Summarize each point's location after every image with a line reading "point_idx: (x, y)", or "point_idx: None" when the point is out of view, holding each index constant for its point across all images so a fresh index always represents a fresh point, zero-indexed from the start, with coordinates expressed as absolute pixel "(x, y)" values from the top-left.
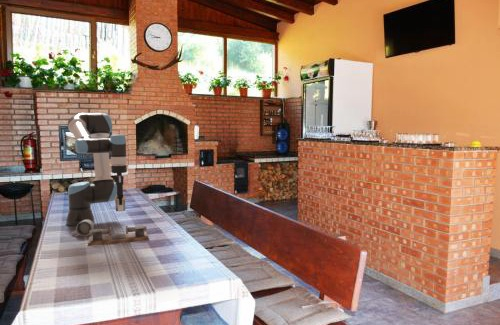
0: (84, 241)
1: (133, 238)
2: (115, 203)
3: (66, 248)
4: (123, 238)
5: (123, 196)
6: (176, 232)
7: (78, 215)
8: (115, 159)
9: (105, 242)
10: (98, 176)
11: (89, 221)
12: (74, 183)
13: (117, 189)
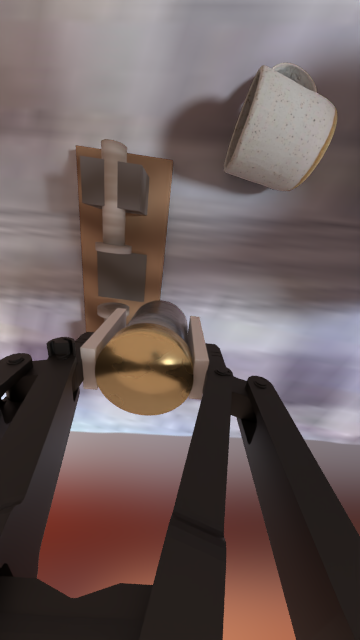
0: (146, 137)
1: (91, 316)
2: (154, 316)
3: (63, 34)
4: (98, 287)
5: (154, 403)
6: (139, 421)
7: None
8: None
9: (81, 221)
10: None
11: (272, 151)
12: None
13: (31, 427)
